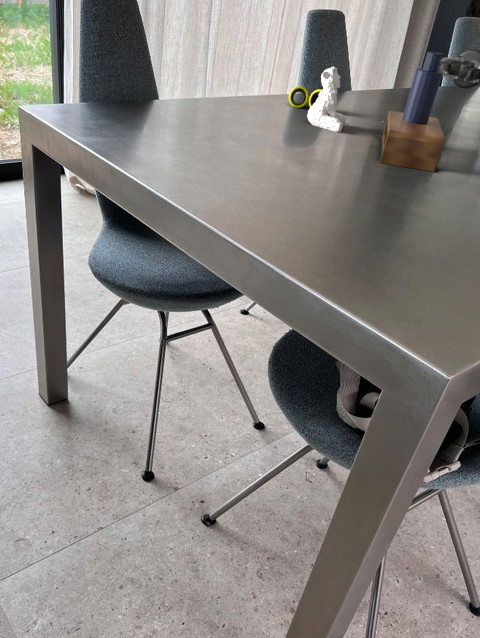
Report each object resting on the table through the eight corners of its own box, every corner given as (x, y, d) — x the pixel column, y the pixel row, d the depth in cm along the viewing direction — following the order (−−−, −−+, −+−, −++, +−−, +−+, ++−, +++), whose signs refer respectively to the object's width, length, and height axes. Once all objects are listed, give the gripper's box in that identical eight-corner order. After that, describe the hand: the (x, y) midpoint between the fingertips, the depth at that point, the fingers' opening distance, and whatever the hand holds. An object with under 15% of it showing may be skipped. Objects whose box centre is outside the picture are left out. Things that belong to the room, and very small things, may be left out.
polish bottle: (426, 121, 114) (447, 53, 107) (427, 125, 110) (449, 56, 103) (401, 117, 115) (421, 49, 108) (402, 121, 111) (422, 52, 104)
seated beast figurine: (340, 133, 125) (354, 72, 118) (302, 126, 126) (314, 66, 119) (344, 125, 132) (358, 67, 125) (308, 119, 134) (319, 62, 127)
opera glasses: (326, 113, 145) (331, 92, 143) (324, 112, 141) (329, 90, 139) (290, 107, 148) (294, 86, 146) (286, 106, 143) (291, 84, 141)
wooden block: (428, 147, 122) (437, 118, 118) (433, 172, 106) (445, 138, 102) (381, 140, 123) (389, 110, 120) (379, 162, 107) (389, 129, 104)
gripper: (502, 93, 122) (475, 99, 111) (439, 81, 129) (408, 85, 119) (517, 54, 117) (490, 55, 107) (451, 43, 125) (420, 44, 114)
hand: (447, 71), depth 113 cm, fingers open, 8 cm apart
